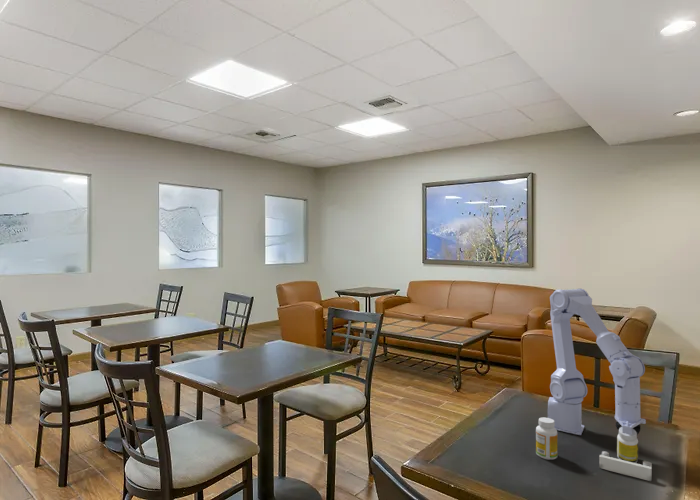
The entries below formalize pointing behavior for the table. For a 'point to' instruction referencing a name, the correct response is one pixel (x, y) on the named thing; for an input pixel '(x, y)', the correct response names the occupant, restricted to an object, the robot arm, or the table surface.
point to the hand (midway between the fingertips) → (628, 451)
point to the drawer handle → (625, 467)
